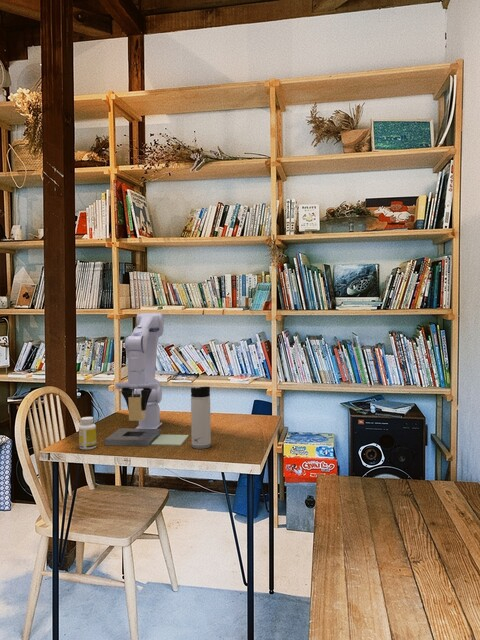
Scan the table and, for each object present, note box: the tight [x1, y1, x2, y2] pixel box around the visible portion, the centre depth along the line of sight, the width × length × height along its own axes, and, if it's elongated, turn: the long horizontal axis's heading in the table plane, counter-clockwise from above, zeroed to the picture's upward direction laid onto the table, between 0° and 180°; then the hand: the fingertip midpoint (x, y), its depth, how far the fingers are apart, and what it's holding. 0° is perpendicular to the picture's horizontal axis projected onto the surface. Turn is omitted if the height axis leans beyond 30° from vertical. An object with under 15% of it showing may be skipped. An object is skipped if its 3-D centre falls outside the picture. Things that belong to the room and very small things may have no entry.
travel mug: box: [190, 386, 212, 450], centre depth 167 cm, size 6×7×20 cm
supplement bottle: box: [78, 416, 97, 451], centre depth 168 cm, size 5×5×10 cm
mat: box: [150, 434, 189, 447], centre depth 175 cm, size 12×10×1 cm
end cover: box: [128, 393, 145, 422], centre depth 176 cm, size 4×4×9 cm
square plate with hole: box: [104, 427, 162, 447], centre depth 177 cm, size 15×15×2 cm
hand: (137, 409), depth 176 cm, fingers closed on end cover, 4 cm apart
